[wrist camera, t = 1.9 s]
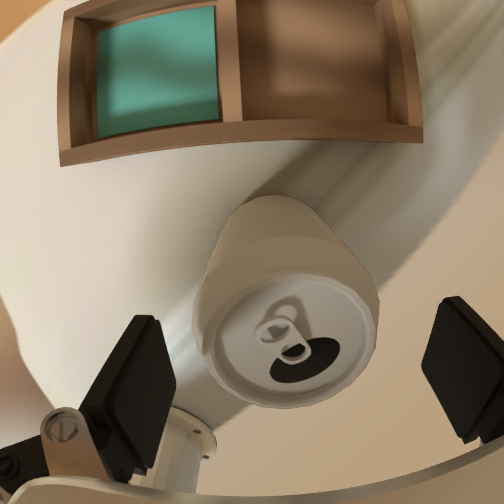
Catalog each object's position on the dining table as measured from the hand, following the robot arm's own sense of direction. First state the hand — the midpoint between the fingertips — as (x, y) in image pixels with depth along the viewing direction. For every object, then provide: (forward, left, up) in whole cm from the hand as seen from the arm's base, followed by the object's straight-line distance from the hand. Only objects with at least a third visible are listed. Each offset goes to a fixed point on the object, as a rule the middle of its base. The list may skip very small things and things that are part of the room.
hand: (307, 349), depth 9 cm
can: (-1, 0, -13) cm, 13 cm away
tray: (+12, +2, -12) cm, 18 cm away
